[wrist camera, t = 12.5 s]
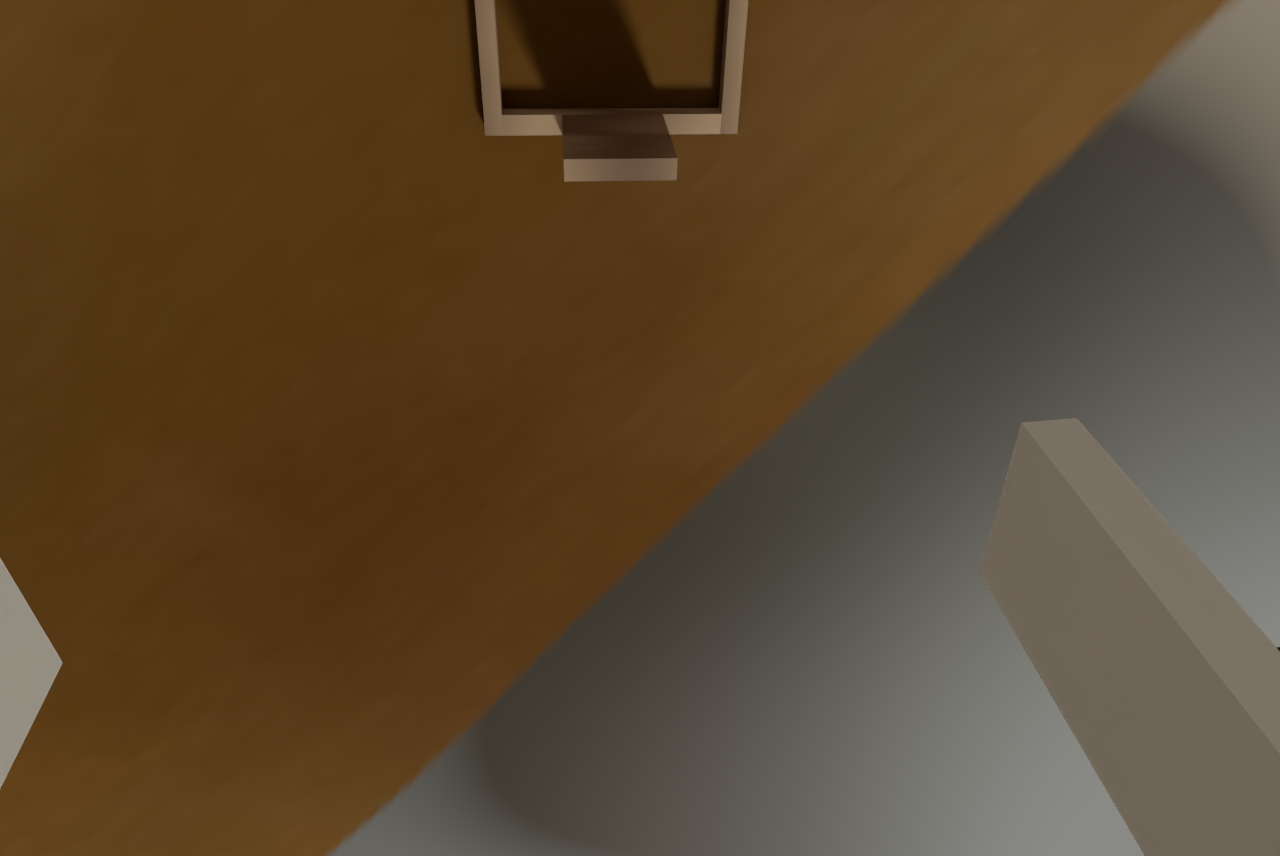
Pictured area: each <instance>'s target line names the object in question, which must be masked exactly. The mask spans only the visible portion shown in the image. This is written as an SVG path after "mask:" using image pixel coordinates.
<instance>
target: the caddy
mask: <svg viewBox="0 0 1280 856" xmlns="http://www.w3.org/2000/svg"><path fill="white" fill-rule="evenodd" d="M747 10H748V0H726V7H725V22H724V36H723V51H722V65H721V79H720V94H719V108H576V109H503V108H502V93H501V78H500V63H499V49H498V34H497V19H496V4H495V0H475V12H476V25H477V38H478V50H479V63H480V75H481V88H482V100H483V113H484V125H485V136H494V135H563V160H564V181H649V180H676V177H677V156H676V153H675V150H674V146H673V143H672V140H671V137H670V134H737V130H738V118H739V106H740V94H741V82H742V70H743V58H744V46H745V34H746V22H747Z"/></svg>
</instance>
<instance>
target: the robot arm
mask: <svg viewBox="0 0 1280 856" xmlns="http://www.w3.org/2000/svg"><path fill="white" fill-rule="evenodd" d="M979 573H980V574H981V576H982V578H983V579H984V581H985V583H986V585H987V586H988V588H989V590H990V591H991V593H992V595H993V596H994V598H995V600H996V602H997V603H998V605H999V607H1000V608H1001V610H1002V612H1003V614H1004V615H1005V617H1006V619H1007V621H1008V622H1009V624H1010V626H1011V627H1012V629H1013V631H1014V633H1015V634H1016V636H1017V638H1018V639H1019V641H1020V643H1021V644H1022V646H1023V648H1024V650H1025V651H1026V653H1027V654H1028V656H1029V658H1030V660H1031V662H1032V663H1033V665H1034V667H1035V668H1036V670H1037V672H1038V674H1039V675H1040V677H1041V679H1042V681H1043V682H1044V684H1045V686H1046V687H1047V689H1048V691H1049V693H1050V694H1051V696H1052V698H1053V699H1054V701H1055V703H1056V704H1057V706H1058V708H1059V710H1060V711H1061V713H1062V715H1063V716H1064V718H1065V720H1066V722H1067V723H1068V725H1069V727H1070V728H1071V730H1072V732H1073V734H1074V735H1075V737H1076V739H1077V740H1078V742H1079V744H1080V746H1081V747H1082V749H1083V751H1084V752H1085V754H1086V756H1087V757H1088V759H1089V761H1090V763H1091V764H1092V766H1093V768H1094V770H1095V771H1096V773H1097V775H1098V776H1099V778H1100V780H1101V781H1102V783H1103V785H1104V787H1105V788H1106V790H1107V792H1108V794H1109V795H1110V797H1111V798H1112V800H1113V802H1114V804H1115V806H1116V807H1117V809H1118V811H1119V812H1120V814H1121V816H1122V817H1123V819H1124V821H1125V823H1126V824H1127V826H1128V828H1129V830H1130V831H1131V833H1132V834H1133V836H1134V838H1135V840H1136V842H1137V843H1138V845H1139V847H1140V848H1141V850H1142V852H1143V853H1144V855H1145V856H1280V647H1278V648H1276V647H1275V645H1274V644H1273V643H1272V642H1271V641H1270V640H1269V638H1268V637H1267V636H1266V635H1265V634H1264V633H1263V632H1262V630H1261V629H1260V628H1259V627H1258V626H1257V625H1256V624H1255V622H1254V621H1253V620H1252V619H1251V618H1250V617H1249V616H1248V614H1247V613H1246V612H1245V611H1244V610H1243V609H1242V607H1241V606H1240V605H1239V604H1238V603H1237V602H1236V601H1235V599H1234V598H1233V597H1232V596H1231V595H1230V594H1229V592H1227V590H1226V589H1225V588H1224V587H1223V586H1222V584H1221V583H1220V582H1219V581H1218V580H1217V579H1216V577H1215V576H1214V575H1213V574H1212V573H1211V572H1210V571H1209V570H1208V568H1207V567H1206V566H1205V565H1204V564H1203V563H1202V562H1201V560H1200V559H1199V558H1198V557H1197V556H1196V555H1195V553H1194V552H1193V551H1192V550H1191V549H1190V548H1189V547H1188V545H1187V544H1186V543H1185V542H1184V541H1183V540H1182V539H1181V537H1180V536H1179V535H1178V534H1177V533H1176V532H1175V530H1174V529H1173V528H1172V527H1171V526H1170V525H1169V524H1168V523H1167V521H1166V520H1165V519H1164V518H1163V517H1162V515H1161V514H1160V513H1159V512H1158V511H1157V510H1156V509H1155V507H1153V505H1152V504H1151V503H1150V502H1149V501H1148V500H1147V498H1146V497H1145V496H1144V495H1143V494H1142V493H1141V491H1140V490H1139V489H1138V488H1137V487H1136V486H1135V484H1134V483H1133V482H1132V481H1131V480H1130V479H1129V478H1128V477H1127V475H1126V474H1125V473H1124V472H1123V471H1122V470H1121V468H1120V467H1119V466H1118V465H1117V464H1116V463H1115V462H1114V461H1113V459H1112V458H1111V457H1110V456H1109V455H1108V454H1107V452H1106V451H1105V450H1104V449H1103V448H1102V447H1101V445H1100V444H1099V443H1098V442H1097V441H1096V440H1095V439H1094V437H1093V436H1092V435H1091V434H1090V433H1089V432H1088V430H1087V429H1086V428H1085V427H1084V426H1083V425H1082V424H1081V422H1080V421H1079V420H1078V419H1077V418H1073V419H1061V420H1050V421H1039V422H1026V423H1021V427H1020V430H1019V434H1018V438H1017V441H1016V444H1015V448H1014V451H1013V455H1012V458H1011V462H1010V466H1009V469H1008V472H1007V476H1006V480H1005V483H1004V487H1003V490H1002V494H1001V497H1000V500H999V504H998V508H997V511H996V515H995V518H994V522H993V525H992V529H991V532H990V536H989V540H988V543H987V546H986V550H985V554H984V557H983V560H982V564H981V568H980V572H979ZM61 665H62V661H61V659H60V658H59V656H58V654H57V653H56V651H55V649H54V648H53V646H52V644H51V642H50V641H49V639H48V637H47V636H46V634H45V632H44V631H43V629H42V627H41V626H40V624H39V622H38V621H37V619H36V617H35V616H34V614H33V612H32V611H31V609H30V607H29V605H28V604H27V602H26V600H25V599H24V597H23V595H22V594H21V592H20V590H19V589H18V587H17V585H16V584H15V582H14V580H13V579H12V577H11V575H10V574H9V572H8V570H7V568H6V567H5V565H4V563H3V562H2V560H1V558H0V788H1V786H2V784H3V782H4V780H5V778H6V776H7V774H8V772H9V770H10V768H11V766H12V764H13V762H14V760H15V758H16V756H17V754H18V752H19V750H20V748H21V746H22V744H23V742H24V740H25V738H26V736H27V734H28V732H29V730H30V728H31V726H32V724H33V722H34V720H35V718H36V716H37V714H38V711H39V709H40V707H41V705H42V703H43V701H44V699H45V697H46V695H47V693H48V691H49V689H50V687H51V685H52V683H53V681H54V679H55V677H56V675H57V673H58V671H59V669H60V667H61Z"/></svg>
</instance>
